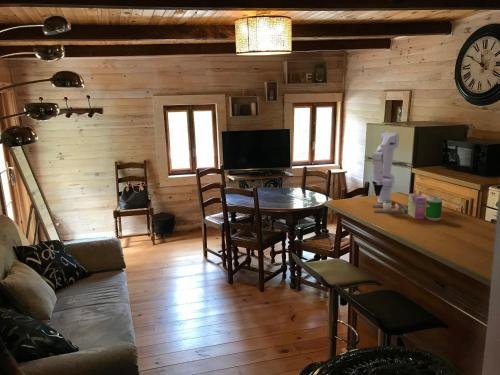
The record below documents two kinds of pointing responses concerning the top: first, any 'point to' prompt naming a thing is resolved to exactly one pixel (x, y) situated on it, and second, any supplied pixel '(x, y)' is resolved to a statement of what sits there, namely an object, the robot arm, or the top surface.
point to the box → (416, 206)
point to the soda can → (434, 208)
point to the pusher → (396, 207)
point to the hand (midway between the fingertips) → (377, 194)
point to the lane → (392, 211)
